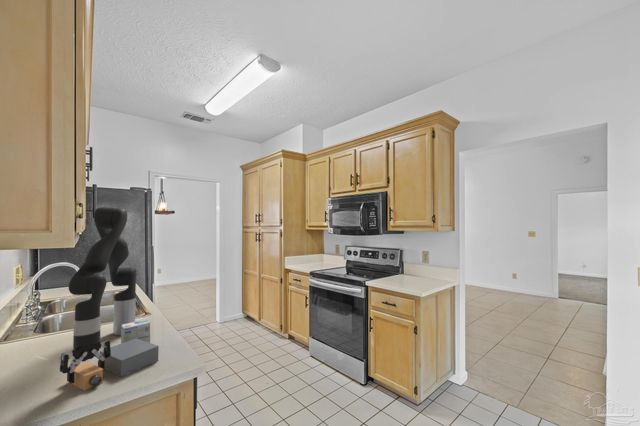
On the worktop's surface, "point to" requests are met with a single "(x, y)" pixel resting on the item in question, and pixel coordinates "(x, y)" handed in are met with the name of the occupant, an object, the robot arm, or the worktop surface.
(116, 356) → the stand
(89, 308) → the robot arm
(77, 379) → the block
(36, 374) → the worktop surface
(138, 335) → the light bulb box
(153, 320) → the worktop surface
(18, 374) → the worktop surface
